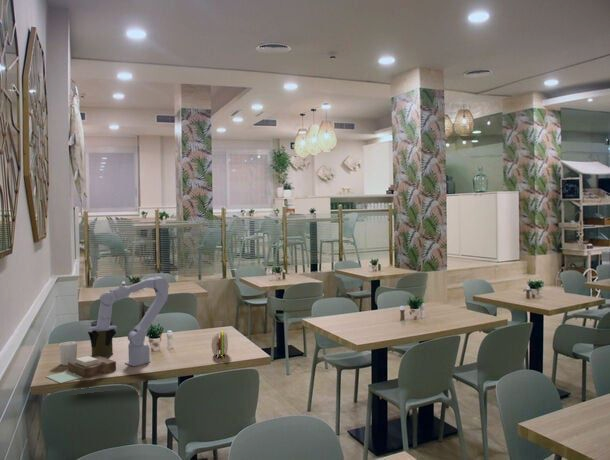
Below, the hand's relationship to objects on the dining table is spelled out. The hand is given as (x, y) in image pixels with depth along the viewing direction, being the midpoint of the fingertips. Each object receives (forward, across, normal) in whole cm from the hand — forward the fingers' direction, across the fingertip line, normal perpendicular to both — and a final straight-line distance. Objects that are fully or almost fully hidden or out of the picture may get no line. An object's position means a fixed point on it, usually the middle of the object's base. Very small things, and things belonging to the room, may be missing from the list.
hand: (100, 346), depth 244 cm
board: (+11, +2, 0) cm, 11 cm away
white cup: (+13, +1, -20) cm, 24 cm away
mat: (+13, +15, -2) cm, 20 cm away
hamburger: (+2, -47, +34) cm, 58 cm away
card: (+8, +6, -1) cm, 9 cm away
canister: (+10, -17, -19) cm, 27 cm away
